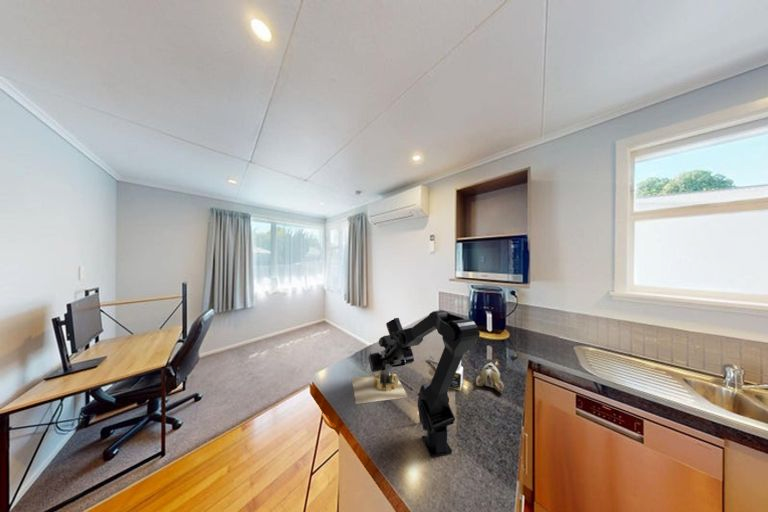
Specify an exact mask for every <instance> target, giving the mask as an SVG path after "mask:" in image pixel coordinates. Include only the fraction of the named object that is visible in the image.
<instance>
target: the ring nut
mask: <svg viewBox="0 0 768 512" xmlns="http://www.w3.org/2000/svg"><path fill="white" fill-rule="evenodd" d="M394 374H395V373H393V372H392V381H393V380H394V381H393V382H392V389H396V388H397V384H398V379H399V377H398V376H397V375H396V376H394ZM373 376H374V381H373V384H374V387H377V389H378V390H380V391H382V390H383V383H382V382H379V377H380V373H376V374H375V375H373ZM385 390H386V391H391V383H385Z"/></svg>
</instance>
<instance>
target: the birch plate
mask: <svg viewBox="0 0 768 512" xmlns="http://www.w3.org/2000/svg"><path fill="white" fill-rule="evenodd" d="M393 374H394V376H397V374H396V373H393ZM373 381H374V375H371V376H370V375H369V376H361V377H352V378H351V382H352V387H353V389H352V390H353V394H354V395H353V396H354V401H355V404H356V405H357V404H364V403H365V404H366V403H372V402H373V403H374V402H379V401H380V402H383V401H387V400H388V401H389V400H397V399H404V398H409V396H408V394H407V391H406V390H405V389H404V386H403V385H402V383H401V381H400V379H399V378H398V384H397V388H396V389H392V383H391V391H386V390H385V385H383V390H382V391H380V390H378V389H377V387H374V384H373ZM393 381H394V380H393ZM393 381H392V382H393ZM379 382H380V377H379Z"/></svg>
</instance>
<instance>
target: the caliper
mask: <svg viewBox="0 0 768 512" xmlns="http://www.w3.org/2000/svg"><path fill="white" fill-rule="evenodd" d="M426 361H427V362H428V363H430V364H433V365H436V366H438V363H439V361H437V360H435V359H432V358H427V359H426Z"/></svg>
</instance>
